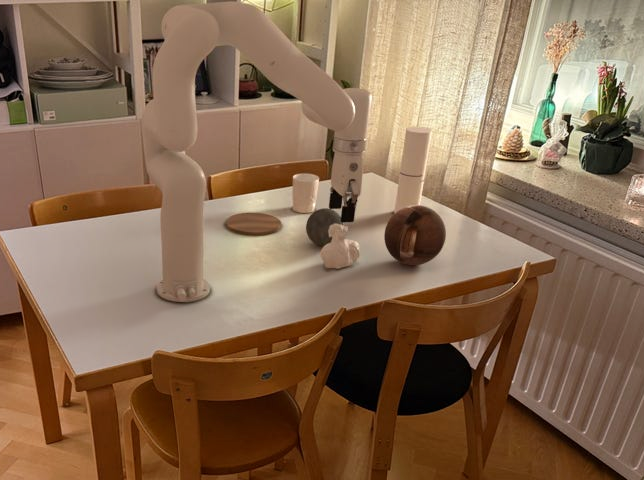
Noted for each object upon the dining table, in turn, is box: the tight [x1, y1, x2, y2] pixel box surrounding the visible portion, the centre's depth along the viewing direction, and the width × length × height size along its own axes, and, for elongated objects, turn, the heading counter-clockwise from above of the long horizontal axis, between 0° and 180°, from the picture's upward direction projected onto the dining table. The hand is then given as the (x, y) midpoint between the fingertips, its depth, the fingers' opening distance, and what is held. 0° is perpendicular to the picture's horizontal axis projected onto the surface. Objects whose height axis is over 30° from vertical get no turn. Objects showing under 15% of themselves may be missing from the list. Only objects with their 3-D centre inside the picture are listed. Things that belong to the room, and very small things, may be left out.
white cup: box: [291, 173, 320, 214], centre depth 211 cm, size 8×8×10 cm
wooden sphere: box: [383, 204, 447, 266], centre depth 176 cm, size 15×15×15 cm
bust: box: [319, 223, 361, 270], centre depth 177 cm, size 12×8×11 cm
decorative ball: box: [305, 207, 344, 247], centre depth 188 cm, size 10×10×10 cm
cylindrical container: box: [393, 126, 433, 215], centre depth 205 cm, size 7×7×25 cm
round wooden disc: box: [225, 212, 282, 237], centre depth 202 cm, size 16×16×1 cm
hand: (340, 215), depth 172 cm, fingers open, 9 cm apart
